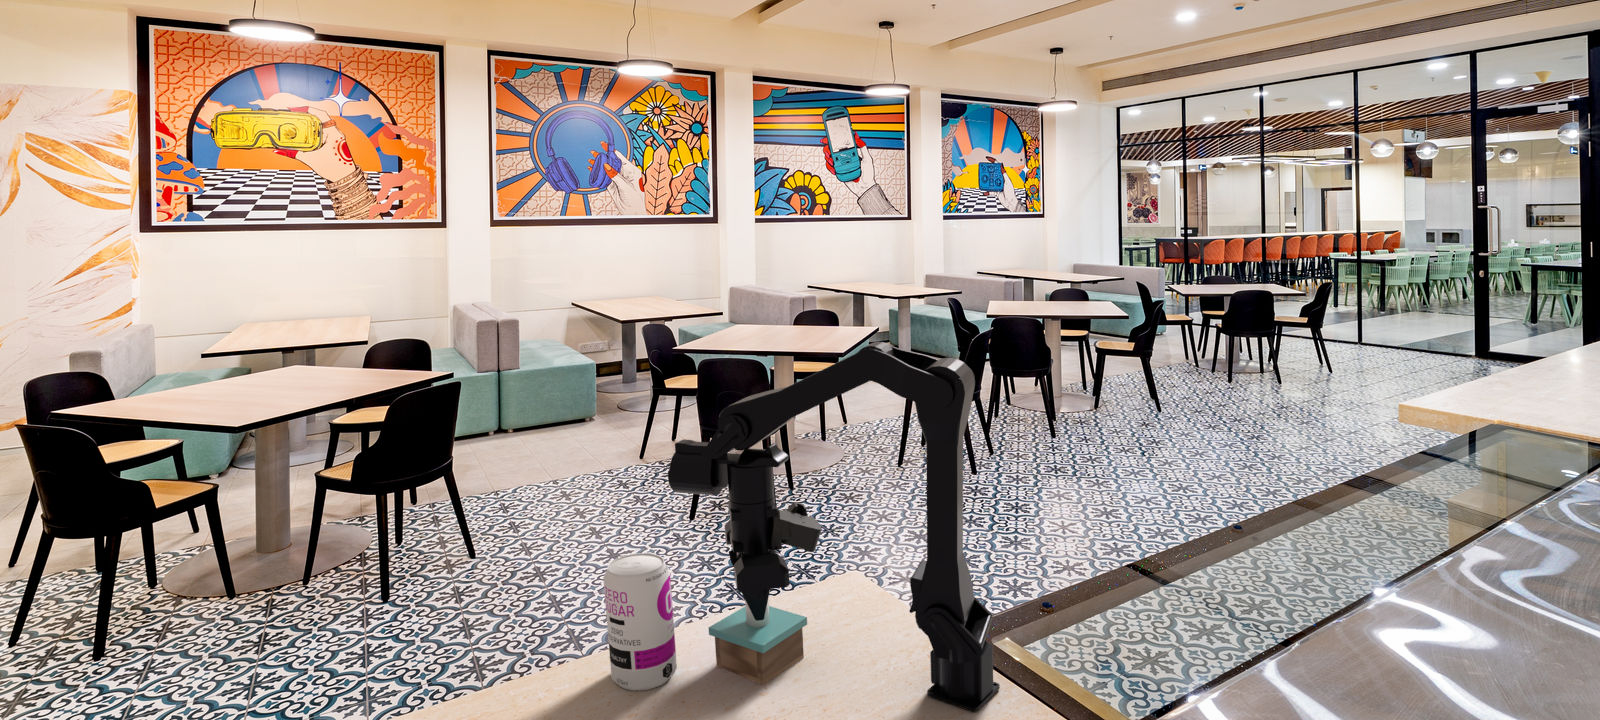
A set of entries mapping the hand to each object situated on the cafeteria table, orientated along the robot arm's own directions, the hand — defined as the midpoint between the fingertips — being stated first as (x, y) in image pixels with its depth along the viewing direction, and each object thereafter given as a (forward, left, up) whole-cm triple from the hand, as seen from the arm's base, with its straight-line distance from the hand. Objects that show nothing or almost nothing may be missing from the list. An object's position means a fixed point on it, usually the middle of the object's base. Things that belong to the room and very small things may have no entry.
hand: (758, 614), depth 110 cm
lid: (0, 0, -2) cm, 2 cm away
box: (0, 0, -7) cm, 7 cm away
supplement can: (+10, +11, -7) cm, 16 cm away
